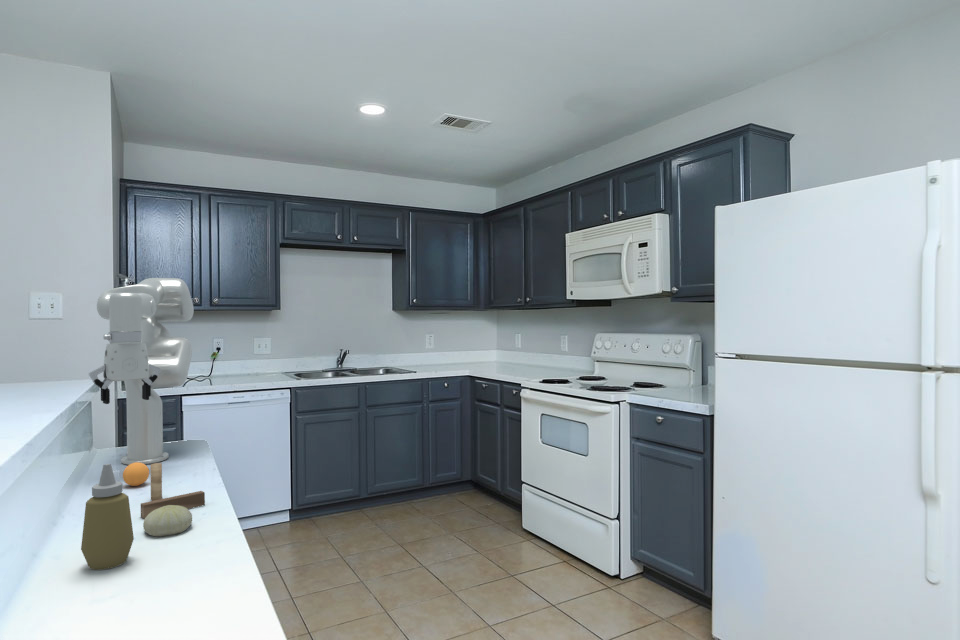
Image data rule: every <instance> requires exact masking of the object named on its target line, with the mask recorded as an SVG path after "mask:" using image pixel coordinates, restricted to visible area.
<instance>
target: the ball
mask: <svg viewBox="0 0 960 640" xmlns="http://www.w3.org/2000/svg"><path fill="white" fill-rule="evenodd" d="M149 476H150V470H149V467H148V466H147V464H143V463H140V462H136V463H132V464H130V465H127V466H126V467H125V468H124V470H123V472H122V479H123V482H124V483H125V484H126V485H129V486H131V487H138V486H141V485H143V484H144V483H146V482H147V481H148V478H150V477H149Z"/></svg>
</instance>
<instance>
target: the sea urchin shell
mask: <svg viewBox="0 0 960 640" xmlns="http://www.w3.org/2000/svg"><path fill="white" fill-rule="evenodd" d="M192 523H193V513H192V512H191V511H190V509H187V508H185V507H183V506H178V505H167V506H163V507H160V508H158V509H156V510H154V511H152V512H151V513H149V514H148V515H147V516H146V518H145V519H143V523H142V526H143V530H144V532H146V533H147V534H148V535H149V536H153V537H156V538H159V537H164V536H173V535H177V534H181V533H183V532H184V531H186V530H187V529H188V528H189V527H190V526H191V524H192Z"/></svg>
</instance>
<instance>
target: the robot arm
mask: <svg viewBox="0 0 960 640" xmlns="http://www.w3.org/2000/svg"><path fill="white" fill-rule="evenodd" d="M194 309H195V308H194V303H193V299H192V297H191V293H190V289H189V287H188V284H187V283H186V282H185V281H184V280H183V279H181V278H179V277H177V278H174V277H149V278H145V279H143V280H141V281H140V282H138V283H137V284H130V285H126V286H120V287H115V288H109V289H107V290H105V291H103V292H101V294H100V296H98V298H97V302H96V310H97V313H98V315H99V316H100V318H102V319H104V320H108V321H109V332H108V333H107V334H103V336H102V337H103V338H102V339H103V340H107V341H108V342H109V343H107V344H106V347H105V351H104V359H103V365H102V366H99V367H97V368H95V369H93V370H92V371H90V372H88V376H89V378H90V380H91V381H92V382H93V384H95V386H97V387H98V388H99V389H100V401H101V402H102V404H105V405H109V404H110V402H111V400H110V399H111V398H110V397H111V396H110V392H111V391H110V388H109V386H110V385H111V384H112V383H113V382H123V383H124V387H125V396H126V397H125V398H126V453H127V454H126V455H125V456H123V457H122V458H121V460H120V462H121V464H123V465H127V466H128V465H130V464H132V463H136V462H140V463H143V464H145V465H149V464H150V465H151V464H154V463H161V462H162V461H165V460H168V459H169V453H168V452H166V451H164V445H163V443H164V439H163V438H164V437H163V436H164V434H163V433H164V432H163V430H164V429H163V428H164V426H163V423H164V422H163V419H164V418H163V400H162V398H161V396H160V395H159V394H158V393H157V392H156V391H155V390H154V389H158V388H175V387H176V388H177V387H181V386H183V385H184V384H186V381H187V380H188V374H189V370H190V366H191V361H192V350H193V349H192V344H191V342H190V340H189V339H187V338H186V337H184V336H183V337H182V336H171V332H169V330H168V329H167V328H166V327H165V326H164V325H163V324H162V323H179V322H180V323H184V322H189V321H191V319H192V318H193V316H194V314H195V313H194V311H195V310H194ZM101 373H102V374H103V376H102V377H103V380H100V379H99V377H98V375H100V374H101Z"/></svg>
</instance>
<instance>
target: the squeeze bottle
mask: <svg viewBox="0 0 960 640" xmlns="http://www.w3.org/2000/svg"><path fill="white" fill-rule="evenodd" d="M113 470H114V469H113V467H112V464H111V463H106V464H103V465H102V469H101V474H100V477H99V481H98V483H96V484H94V485H93V486H92V487H91V495H92V496H91V497H90V498H89V499H87V501H86V502H85V509H84V518H83V519H84V520H83V526H82V527H83V528H82V536H81V546H80V550H81V553H82V554H83V557H84V559H85V562H86V564H87V567H88V568H89V569H90V570H94V571H97V570H98V571H99V570H102V571H103V570H108V569H112V568H116V567H119V566H122V565H123V564H124V563H126V562H127V560H128V557H129V554H130V552H131V548H132V546H133V543H134V539H135V537H134V530H133V523H132V522H133V521H132V515H131V507H130V506H131V505H130V499H129V495H127V494H126V493H124V492H123V482H121V481H120V482H118V481H115V477H114V474H113Z"/></svg>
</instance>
